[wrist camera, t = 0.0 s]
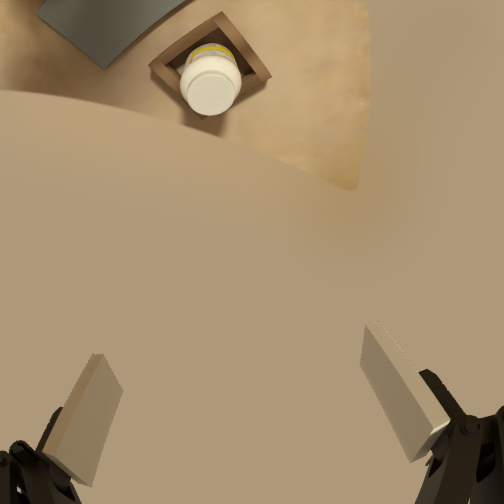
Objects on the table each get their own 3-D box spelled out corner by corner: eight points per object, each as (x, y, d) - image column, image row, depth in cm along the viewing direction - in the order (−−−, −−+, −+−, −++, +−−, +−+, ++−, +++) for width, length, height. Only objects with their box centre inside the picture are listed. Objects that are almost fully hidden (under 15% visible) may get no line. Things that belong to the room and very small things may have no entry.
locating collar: (151, 61, 28) (148, 65, 27) (221, 11, 24) (222, 12, 22) (202, 112, 37) (202, 119, 35) (268, 71, 32) (272, 76, 31)
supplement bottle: (215, 92, 34) (217, 135, 27) (176, 70, 30) (163, 106, 23) (245, 58, 30) (259, 89, 23) (205, 33, 26) (202, 53, 19)
